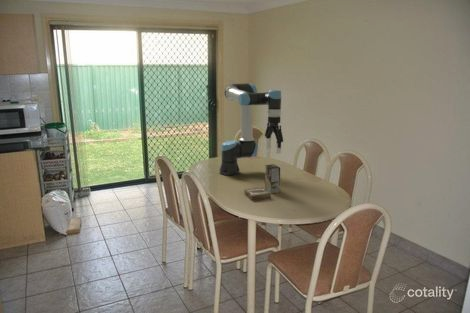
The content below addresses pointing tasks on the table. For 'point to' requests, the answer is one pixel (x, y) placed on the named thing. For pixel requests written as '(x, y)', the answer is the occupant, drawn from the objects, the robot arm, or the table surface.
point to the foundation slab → (257, 194)
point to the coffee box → (272, 178)
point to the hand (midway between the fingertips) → (273, 150)
